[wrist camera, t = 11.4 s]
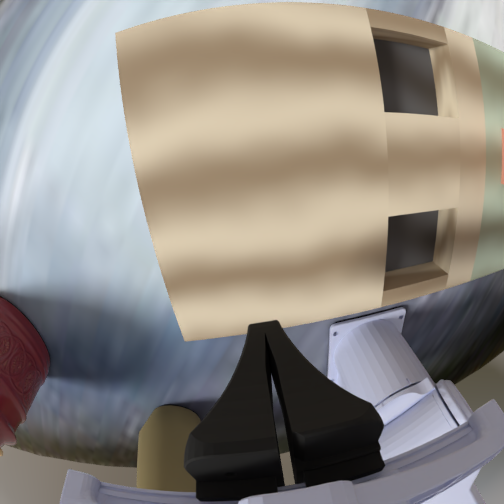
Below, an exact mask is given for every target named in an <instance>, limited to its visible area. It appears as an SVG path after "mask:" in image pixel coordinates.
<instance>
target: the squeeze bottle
mask: <svg viewBox="0 0 504 504" xmlns="http://www.w3.org/2000/svg"><path fill="white" fill-rule="evenodd" d="M200 422H201V421H200V418H199V417H198V416H197V414H195V413H194V412H192V411H191V410H189V409H186V408H183V407H179V406H172V405H168V406H160V407H158V408H155V410H154V411H153V412H152V414H151V415H150V417H149V418H148V420H147V421H146V423H145V424H144V426H143V427H142V429H141V430H140V432H139V442H138V460H137V488H141V489H150V490H160V491H174V492H196V480H195V479H194V478H193V477H192V476H191V475H190V474H189V473H188V472H187V471H186V470H185V468H184V453H185V447H186V443H187V440H188V437H189V434H190V432H191V431H192V430H193V429H194V428H195V427H196V426H197V425H198V424H199V423H200Z"/></svg>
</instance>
